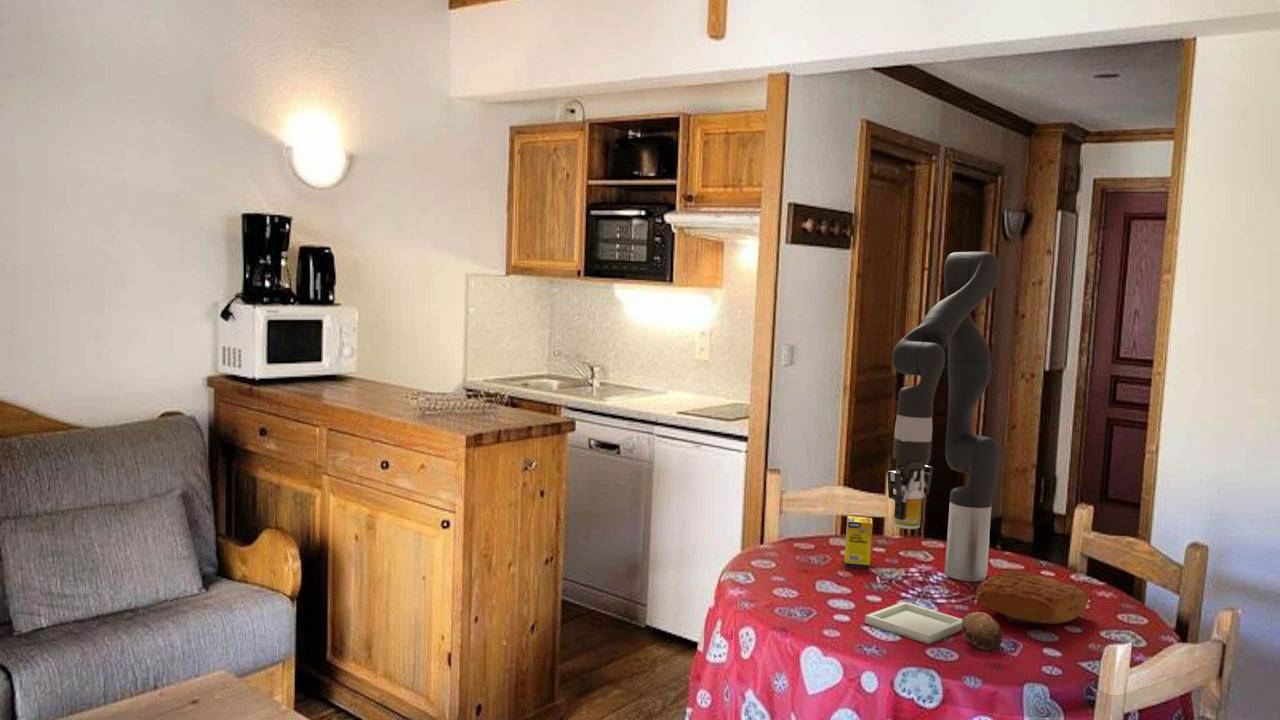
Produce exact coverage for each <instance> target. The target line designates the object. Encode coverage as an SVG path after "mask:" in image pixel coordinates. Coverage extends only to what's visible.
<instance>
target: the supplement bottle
mask: <svg viewBox="0 0 1280 720" xmlns="http://www.w3.org/2000/svg"><path fill="white" fill-rule="evenodd" d="M919 485H920V482H919V481H915V482H914V483H913V486H912V490H911V492H909V493H908V496H907V499H906V515H905V519H904V520H900V519H896V518H895V517H894V516H893V525H894V526H895V527H898V528H900V529H901V528H902V529H904V530H905V529H906V530H908V529H909V530H916V529H919V528H920V527H921V519H922V507H921V506H923V505H922V503H923V498H922V493H921V492H920V491H918V489H919ZM901 486H904V487H906V485H902V484H901ZM902 495H903V491H902Z"/></svg>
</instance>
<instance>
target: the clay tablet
mask: <svg viewBox="0 0 1280 720" xmlns="http://www.w3.org/2000/svg"><path fill="white" fill-rule="evenodd" d="M1088 596H1089V595H1088V594H1087V592H1085V591H1084V590H1082V589H1079V588H1078V587H1076V586H1074V585H1069V584H1066V583H1065V582H1062V581H1059V580H1057V579H1054V578H1051V577H1048V576H1043V575H1038V574H1035V573H1033V572H1029V571H1028V572H1026V571H1025V572H1024V571H1021V570H1018V569H1017V570H1012V571H1011V570H1010V571H1008V572H1007V571H1006V572H1003V571H1002V573H998V574H994V575H993V576H992V575H991V576H988V578H986V579H985V580H983V581H981V583H980V584H979V585H978V587H977V589H976V597H975V600H976V601H977V602H978V603H980V604H981V605H983V606H985V607H987V608H989V609H991V610H993V611H994V612H995V611H996V612H998V613H1000V614H1003V615H1004V616H1007V617H1010V618H1013V619H1016V620H1022V621H1026V622H1031V623H1039V624H1056V625H1057V624H1063V623H1068V622H1071V621H1074V619H1076V618H1078V617H1079V616H1080V615H1081V614H1082V613H1083V612H1084V610H1086V608H1087V605H1088V602H1089V597H1088Z"/></svg>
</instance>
